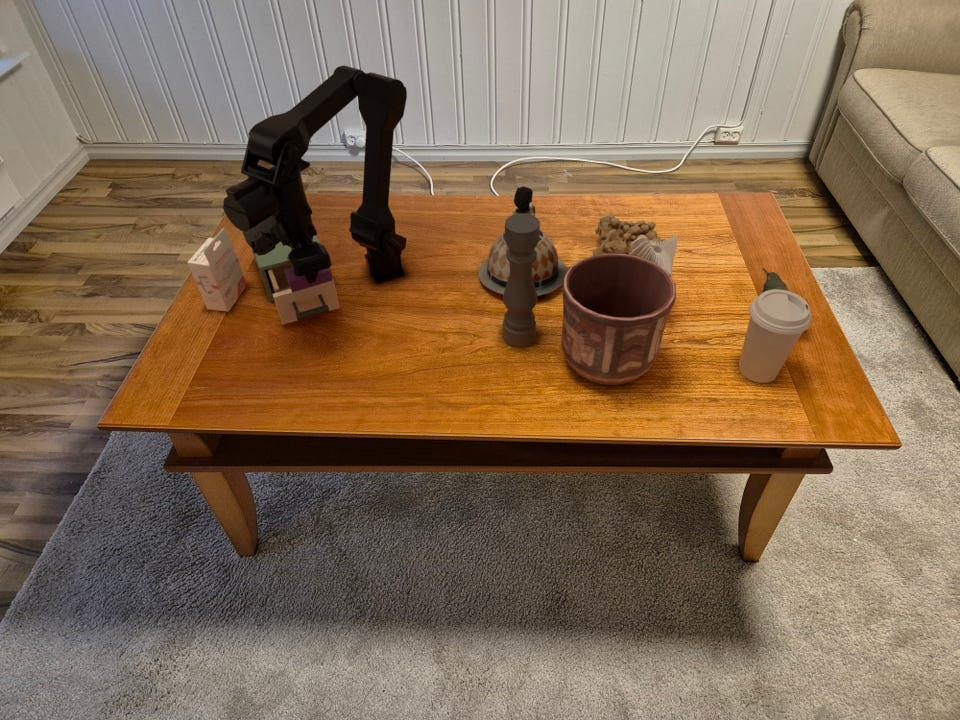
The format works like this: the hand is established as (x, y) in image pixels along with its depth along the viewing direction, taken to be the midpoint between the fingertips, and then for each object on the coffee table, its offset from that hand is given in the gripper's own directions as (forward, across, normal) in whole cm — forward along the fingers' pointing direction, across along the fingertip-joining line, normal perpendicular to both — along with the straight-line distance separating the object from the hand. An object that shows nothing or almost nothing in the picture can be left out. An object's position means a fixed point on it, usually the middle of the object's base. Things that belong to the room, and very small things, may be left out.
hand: (308, 276), depth 119 cm
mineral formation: (+12, +9, +65) cm, 66 cm away
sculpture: (+12, +36, +81) cm, 89 cm away
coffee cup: (+12, +47, +66) cm, 82 cm away
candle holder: (+12, +20, +32) cm, 40 cm away
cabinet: (+12, -18, -1) cm, 21 cm away
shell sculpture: (+12, +25, +57) cm, 64 cm away
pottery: (+12, +34, +43) cm, 56 cm away
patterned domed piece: (+12, +5, +42) cm, 44 cm away
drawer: (+11, -6, -1) cm, 12 cm away
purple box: (+1, 0, 0) cm, 1 cm away
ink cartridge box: (+12, -16, -15) cm, 25 cm away
